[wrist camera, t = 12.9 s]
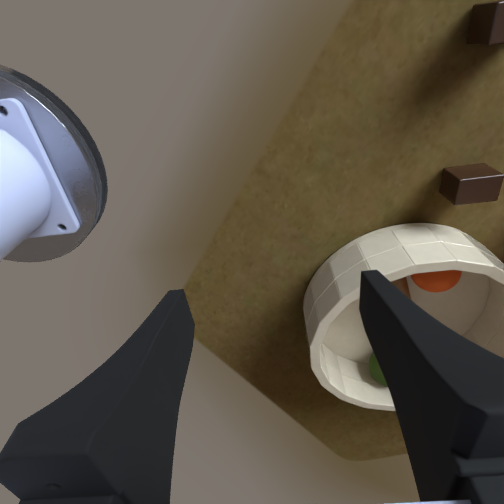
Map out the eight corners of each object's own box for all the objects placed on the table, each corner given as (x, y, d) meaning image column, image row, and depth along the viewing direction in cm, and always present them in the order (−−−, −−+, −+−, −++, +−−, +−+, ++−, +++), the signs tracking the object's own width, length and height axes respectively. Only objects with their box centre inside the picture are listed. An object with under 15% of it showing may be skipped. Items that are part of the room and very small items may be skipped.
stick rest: (478, 187, 21) (497, 201, 19) (438, 192, 21) (454, 206, 19) (526, -4, 16) (558, -8, 14) (472, 4, 16) (497, 1, 14)
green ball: (401, 399, 25) (361, 382, 27) (403, 385, 28) (367, 370, 29) (412, 362, 25) (372, 347, 26) (413, 351, 28) (376, 338, 29)
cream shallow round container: (306, 369, 31) (314, 416, 27) (297, 235, 23) (305, 275, 19) (470, 356, 30) (501, 403, 26) (519, 210, 22) (574, 247, 18)
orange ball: (396, 287, 23) (407, 259, 24) (442, 309, 22) (450, 277, 23) (416, 259, 20) (427, 230, 22) (468, 281, 19) (475, 249, 21)
